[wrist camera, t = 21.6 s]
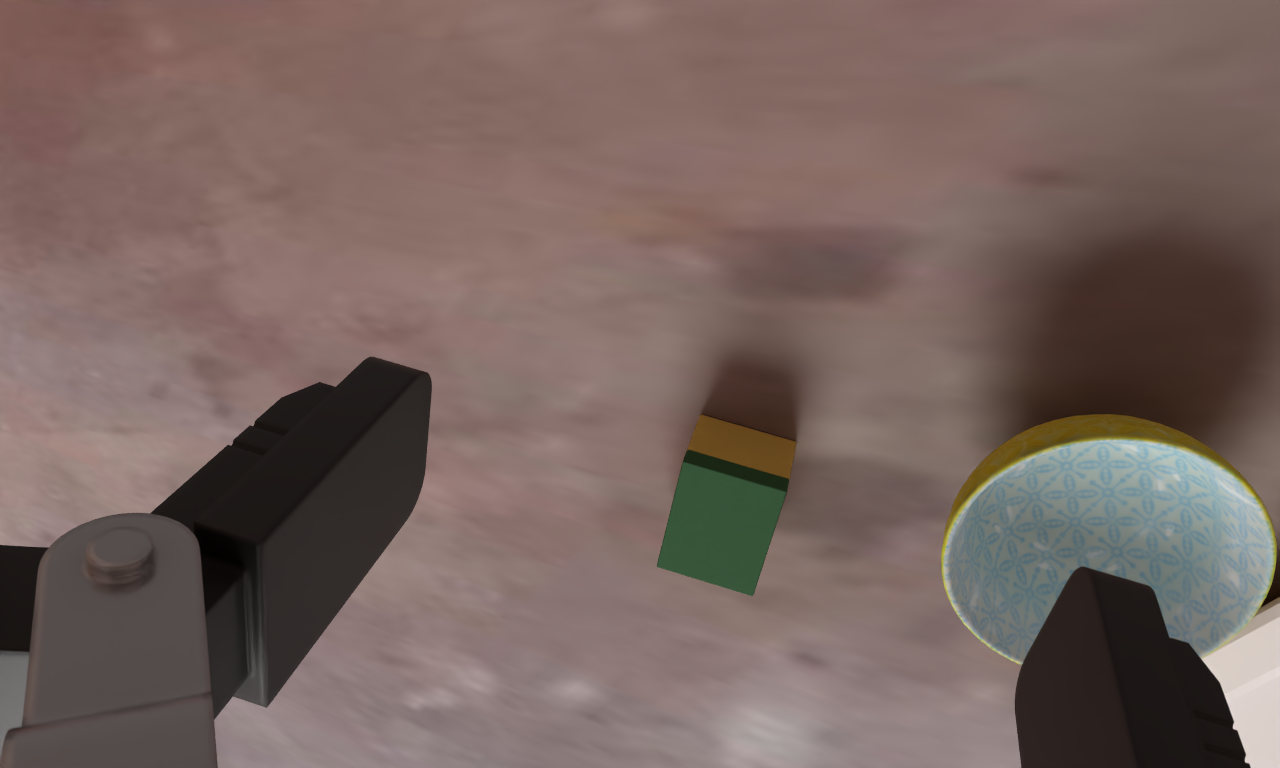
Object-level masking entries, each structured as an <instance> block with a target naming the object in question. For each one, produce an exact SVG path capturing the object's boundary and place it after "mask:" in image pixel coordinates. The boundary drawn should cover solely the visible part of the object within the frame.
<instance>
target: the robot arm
mask: <svg viewBox="0 0 1280 768" xmlns="http://www.w3.org/2000/svg"><path fill="white" fill-rule="evenodd" d="M431 392H432V383H431V378H430V375H429V374H428V373H427V372H424V371H420V370H417V369H413V368H410V367H406V366H403V365H400V364H396V363H393V362H389V361H386V360H382V359H379V358H376V357H369V358H367V359H365V360H364V361H363V362H362V363H361V364H360V365H359V366H358V367H356V368H355V369H354V370H353V371H352V372H351V373H350V374H349V375H348V376H347V377H346V378H345V379H344V380H343V381H342V382H341V383H340V384H339V385H337V386H336V387H334V386H331V385H327V384H324V383H321V382H319V383H316V384H314V385H311V386H309V387H307V388H304V389H302V390H299V391H297V392H294V393H292V394H289V395H287V396H285V397H282V398H281V399H279V400H278V401H277V402H276V403H275V404H274V405H273V406H272V407H270V408H269V409H268V410H267V411H266V412H265V413H264V414H262V415H261V416H260V417H259V418H258V419H257V420H256V421H255V424H254V426H249V427H248V428H247V429H245V430H244V431H243V432H242V433H241V434H240V435H239V436H238V437H236V438H235V439H234V440H233V444H232V446H230V445H227V446H226V447H225V448H224V449H223V450H222V451H220V452H219V453H218V454H217V455H216V456H215V457H214V458H213V459H211V460H210V461H209V462H208V463H207V464H206V465H205V466H203V467H202V468H201V469H200V470H199V471H198V472H197V473H196V474H194V475H193V476H192V477H191V478H190V479H189V480H188V481H186V482H185V483H184V484H183V485H182V486H181V487H180V488H179V489H177V490H176V491H175V492H174V493H173V494H172V495H171V496H169V497H168V498H167V499H166V500H165V501H164V502H163V503H162V504H160V505H159V506H158V507H157V508H156V509H155V510H154V511H152V512H151V513H150V514H148V513H126V514H117V515H111V516H106V517H102V518H99V519H95V520H92V521H90V522H87V523H84V524H82V525H80V526H78V527H76V528H74V529H72V530H70V531H68V532H67V533H65V534H64V535H62V536H61V537H60V538H58V539H57V540H56V541H55V542H54V543H53V544H52V545H51V546H50V547H49V548H42V547H23V546H7V545H0V768H218V766H217V753H216V740H215V728H214V719H215V718H216V717H217V715H218V714H219V713H220V712H221V710H222V709H223V708H224V707H225V705H226V704H227V703H228V702H229V700H230V699H231V698H232V697H233V696H234V697H237V698H240V699H243V700H246V701H248V702H251V703H254V704H257V705H260V706H263V707H266V708H267V707H268V706H269V704H270V703H271V702H272V700H273V699H274V698H275V696H276V695H277V694H278V692H279V691H280V689H281V688H282V687H283V685H284V684H285V683H286V681H287V680H288V679H289V677H290V676H291V675H292V673H293V672H294V671H295V669H296V668H297V667H298V665H299V664H300V663H301V661H302V660H303V659H304V657H305V656H306V655H307V653H308V652H309V651H310V649H311V648H312V647H313V645H314V644H315V643H316V641H317V640H318V639H319V637H320V636H321V635H322V633H323V632H324V630H325V629H326V628H327V626H328V625H329V624H330V622H331V621H332V620H333V618H334V617H335V616H336V614H337V613H338V612H339V610H340V609H341V608H342V606H343V605H344V604H345V602H346V601H347V600H348V598H349V597H350V596H351V594H352V593H353V592H354V590H355V589H356V588H357V586H358V585H359V584H360V582H361V581H362V580H363V578H364V577H365V576H366V574H367V573H368V571H369V570H370V569H371V567H372V566H373V565H374V563H375V562H376V561H377V559H378V558H379V557H380V555H381V554H382V553H383V551H384V550H385V549H386V547H387V546H388V545H389V543H390V542H391V541H392V539H393V538H394V537H395V535H396V534H397V533H398V531H399V530H400V529H401V527H402V526H403V525H404V523H405V522H406V521H407V519H408V518H409V516H410V514H411V513H412V511H413V509H414V507H415V505H416V502H417V500H418V497H419V494H420V491H421V488H422V484H423V480H424V475H425V467H426V454H427V442H428V429H429V417H430V405H431ZM1015 715H1016V724H1017V733H1018V741H1019V750H1020V758H1021V767H1022V768H1251V767H1250V764H1249V763H1246V762H1245V757H1246V753H1245V750H1244V747H1243V745H1242V742H1241V739H1240V736H1239V734H1238V731H1237V730H1235V729H1233V724H1234V720H1233V717H1232V714H1231V712H1230V709H1229V706H1228V703H1227V701H1226V698H1225V695H1224V692H1223V690H1222V687H1221V684H1220V682H1219V681H1218V680H1217V678H1216V677H1215V676H1214V675H1213V673H1212V672H1211V671H1210V669H1209V668H1208V667H1207V666H1206V664H1205V663H1204V662H1203V661H1202V659H1201V658H1200V657H1199V656H1198V654H1197V653H1196V652H1195V650H1194V649H1193V648H1192V647H1191V645H1190V644H1189V643H1187V642H1184V641H1180V640H1177V639H1174V638H1170V637H1169V635H1168V631H1167V628H1166V625H1165V622H1164V619H1163V616H1162V613H1161V610H1160V607H1159V603H1158V600H1157V597H1156V595H1155V592H1154V590H1153V589H1152V588H1151V587H1150V586H1149V585H1145V584H1142V583H1139V582H1135V581H1132V580H1128V579H1125V578H1122V577H1118V576H1115V575H1111V574H1108V573H1104V572H1101V571H1098V570H1094V569H1091V568H1087V567H1084V566H1082V567H1079V568H1077V569H1076V570H1075V571H1074V572H1073V573H1072V574H1071V576H1070V577H1069V579H1068V581H1067V582H1066V584H1065V586H1064V588H1063V590H1062V591H1061V593H1060V595H1059V597H1058V599H1057V601H1056V602H1055V604H1054V606H1053V608H1052V610H1051V611H1050V613H1049V615H1048V617H1047V619H1046V621H1045V622H1044V624H1043V626H1042V628H1041V630H1040V631H1039V633H1038V635H1037V637H1036V639H1035V641H1034V642H1033V644H1032V646H1031V648H1030V650H1029V652H1028V653H1027V655H1026V657H1025V659H1024V662H1023V664H1022V667H1021V670H1020V673H1019V677H1018V681H1017V686H1016V693H1015Z"/></svg>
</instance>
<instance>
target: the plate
mask: <svg viewBox="0 0 1280 768" xmlns="http://www.w3.org/2000/svg"><path fill="white" fill-rule="evenodd" d="M1202 661H1203V662H1204V663H1205V664H1206V666H1207V667H1208V668H1209V669H1210V671H1211V672H1212V673H1213V675H1214V676H1215V677H1216V678H1217V680H1218V681H1219V682H1220V684H1221V687H1222V690H1223V692H1224V695H1225V698H1226V701H1227V703H1228V706H1229V709H1230V712H1231V714H1232V717H1233V720H1234V724H1233V729H1235V730H1237V731H1238V734H1239V736H1240V739H1241V742H1242V745H1243V747H1244V750H1245V753H1246V757H1245V762H1246V763H1249V764H1250V767H1251V768H1280V597H1279V598H1277V599H1275V600H1273V601H1271V602H1270V603H1268V604H1266V605H1264V606H1262V607H1261V608H1259V610H1258V611H1257V613H1256V614H1255V616H1254V617H1253V618H1252V619H1251V621H1250V622H1249V623H1248V624H1247V626H1246V627H1245V628H1243V629H1242V630H1241V631H1240V632H1239V633H1238V634H1237V635H1236V636H1235V637H1233V638H1232V639H1231V640H1230V641H1229V642H1228V643H1226V644H1225V645H1223V646H1222V647H1220V648H1219V649H1217V650H1216V651H1214V652H1213V653H1211V654H1209V655H1208V656H1206V657H1204V658H1202Z"/></svg>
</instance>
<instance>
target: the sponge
mask: <svg viewBox="0 0 1280 768" xmlns="http://www.w3.org/2000/svg"><path fill="white" fill-rule="evenodd" d="M795 448H796V442H795V441H792V440H788V439H785V438H781V437H778V436H774V435H771V434H767V433H764V432H760V431H757V430H753V429H750V428H746V427H743V426H739V425H736V424H732V423H729V422H725V421H722V420H718V419H715V418H712V417H708V416H705V415H700V417H699V420H698V422H697V425H696V428H695V430H694V433H693V436H692V438H691V441H690V444H689V446H688V449H687V452H686V454H685V457H684V460H683V463H682V467H681V471H680V475H679V479H678V483H677V487H676V491H675V495H674V499H673V503H672V507H671V511H670V515H669V519H668V523H667V527H666V531H665V535H664V539H663V543H662V547H661V551H660V555H659V559H658V563H657V567H659V568H663V569H666V570H669V571H672V572H676V573H679V574H682V575H685V576H689V577H692V578H695V579H698V580H702V581H705V582H708V583H711V584H715V585H718V586H721V587H724V588H728V589H731V590H734V591H737V592H741V593H744V594H747V595H750V596H753V594H754V591H755V588H756V585H757V582H758V579H759V576H760V573H761V570H762V567H763V564H764V561H765V558H766V554H767V551H768V548H769V545H770V542H771V539H772V536H773V533H774V530H775V527H776V524H777V521H778V518H779V515H780V511H781V508H782V505H783V502H784V499H785V496H786V493H787V488H788V483H789V478H790V473H791V468H792V463H793V458H794V453H795Z"/></svg>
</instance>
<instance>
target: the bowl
mask: <svg viewBox="0 0 1280 768" xmlns="http://www.w3.org/2000/svg"><path fill="white" fill-rule="evenodd" d="M1276 557H1277V543H1276V537H1275V532H1274V528H1273V524H1272V521H1271V518H1270V516H1269V514H1268V512H1267V510H1266V507H1265V505H1264V504H1263V502H1262V500H1261V499H1260V497H1259V496H1258V494H1257V493H1256V492H1255V491H1254V489H1253V488H1252V487H1251V485H1250V484H1249V483H1248V482H1247V481H1246V479H1245V478H1244V477H1243V476H1242V475H1241V474H1240V473H1239V472H1238V471H1237V470H1236V469H1235V468H1234V467H1233V466H1232V465H1231V464H1230V463H1229V462H1228V461H1226V460H1225V459H1224V458H1223V457H1221V456H1220V455H1219V454H1217V453H1216V452H1215V451H1213V450H1212V449H1210V448H1209V447H1207V446H1205V445H1204V444H1202V443H1201V442H1199V441H1198V440H1196V439H1194V438H1193V437H1191V436H1189V435H1187V434H1185V433H1183V432H1181V431H1178V430H1175V429H1173V428H1170V427H1167V426H1165V425H1163V424H1160V423H1156V422H1153V421H1149V420H1146V419H1141V418H1136V417H1132V416H1124V415H1115V414H1092V415H1077V416H1071V417H1066V418H1061V419H1057V420H1053V421H1050V422H1047V423H1044V424H1041V425H1037V426H1035V427H1032V428H1030V429H1028V430H1026V431H1024V432H1022V433H1020V434H1018V435H1016V436H1014V437H1013V438H1011V439H1010V440H1008V441H1007V442H1005V443H1004V444H1002V445H1001V446H999V447H998V448H997V449H996V450H994V451H993V452H992V453H991V454H990V455H989V456H987V457H986V458H985V459H984V460H983V461H982V462H981V463H980V464H979V465H978V467H977V468H976V469H975V470H974V471H973V473H972V474H971V475H970V476H969V478H968V480H967V481H966V482H965V484H964V485H963V487H962V488H961V490H960V491H959V493H958V495H957V497H956V499H955V501H954V504H953V507H952V510H951V513H950V515H949V518H948V520H947V523H946V528H945V532H944V540H943V546H942V555H941V571H942V578H943V583H944V587H945V590H946V593H947V596H948V598H949V600H950V602H951V604H952V606H953V608H954V610H955V612H956V613H957V615H958V616H959V617H960V619H961V620H962V622H963V623H964V624H965V625H966V627H967V628H968V629H969V630H970V631H971V632H972V633H973V634H974V635H975V636H976V637H978V638H979V639H980V640H981V641H982V642H983V643H985V644H986V645H987V646H988V647H990V648H991V649H993V650H994V651H996V652H997V653H999V654H1001V655H1002V656H1004V657H1006V658H1008V659H1010V660H1012V661H1014V662H1016V663H1018V664H1021V665H1022V664H1023V662H1024V659H1025V657H1026V655H1027V653H1028V652H1029V650H1030V648H1031V646H1032V644H1033V642H1034V641H1035V639H1036V637H1037V635H1038V633H1039V631H1040V630H1041V628H1042V626H1043V624H1044V622H1045V621H1046V619H1047V617H1048V615H1049V613H1050V611H1051V610H1052V608H1053V606H1054V604H1055V602H1056V601H1057V599H1058V597H1059V595H1060V593H1061V591H1062V590H1063V588H1064V586H1065V584H1066V582H1067V581H1068V579H1069V577H1070V576H1071V574H1072V573H1073V572H1074V571H1075V570H1076V569H1077V568H1079V567H1082V566H1084V567H1087V568H1091V569H1094V570H1098V571H1101V572H1104V573H1108V574H1111V575H1115V576H1118V577H1122V578H1125V579H1128V580H1132V581H1135V582H1139V583H1142V584H1145V585H1149V586H1150V587H1151V588H1152V589H1153V590H1154V592H1155V595H1156V597H1157V600H1158V603H1159V607H1160V610H1161V613H1162V616H1163V619H1164V622H1165V625H1166V628H1167V631H1168V635H1169V637H1170V638H1174V639H1177V640H1180V641H1184V642H1187V643H1189V644H1190V645H1191V647H1192V648H1193V649H1194V650H1195V652H1196V653H1197V654H1198V656H1199V657H1200V658H1201V659H1202V658H1204V657H1206V656H1208V655H1209V654H1211V653H1213V652H1214V651H1216V650H1217V649H1219V648H1220V647H1222V646H1223V645H1225V644H1226V643H1228V642H1229V641H1230V640H1231V639H1232V638H1233V637H1235V636H1236V635H1237V634H1238V633H1239V632H1240V631H1241V630H1242V629H1243V628H1245V627H1246V626H1247V624H1248V623H1249V622H1250V621H1251V619H1252V618H1253V617H1254V616H1255V614H1256V613H1257V611H1258V610H1259V608H1260V607H1261V605H1262V603H1263V602H1264V600H1265V598H1266V596H1267V594H1268V592H1269V590H1270V587H1271V584H1272V581H1273V577H1274V572H1275V567H1276Z"/></svg>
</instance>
